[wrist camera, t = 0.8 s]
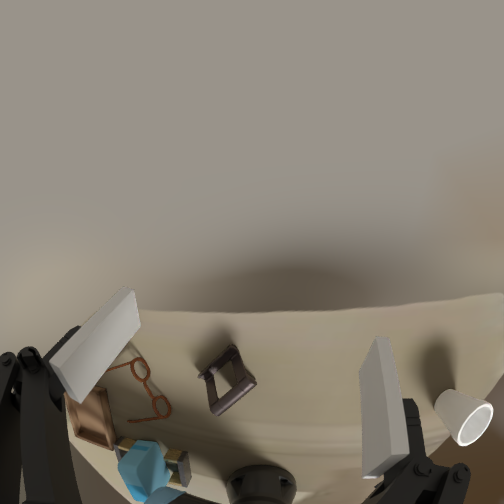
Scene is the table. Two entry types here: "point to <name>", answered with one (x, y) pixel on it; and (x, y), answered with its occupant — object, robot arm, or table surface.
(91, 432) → the tray
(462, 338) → the table surface
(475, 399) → the foam cup
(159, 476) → the data package
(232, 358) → the portable electronic device stand
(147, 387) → the glasses
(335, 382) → the table surface
